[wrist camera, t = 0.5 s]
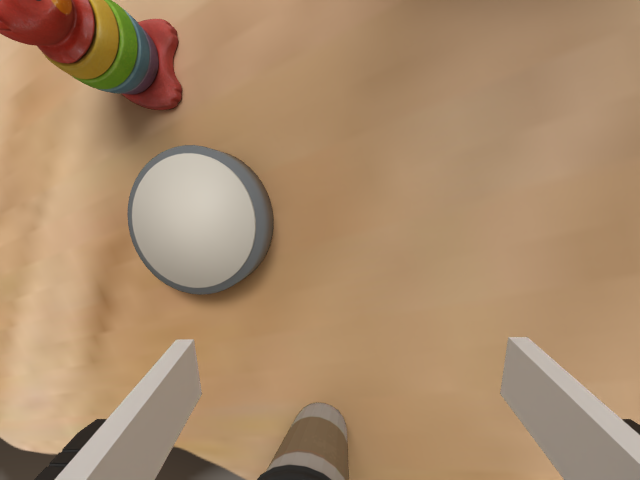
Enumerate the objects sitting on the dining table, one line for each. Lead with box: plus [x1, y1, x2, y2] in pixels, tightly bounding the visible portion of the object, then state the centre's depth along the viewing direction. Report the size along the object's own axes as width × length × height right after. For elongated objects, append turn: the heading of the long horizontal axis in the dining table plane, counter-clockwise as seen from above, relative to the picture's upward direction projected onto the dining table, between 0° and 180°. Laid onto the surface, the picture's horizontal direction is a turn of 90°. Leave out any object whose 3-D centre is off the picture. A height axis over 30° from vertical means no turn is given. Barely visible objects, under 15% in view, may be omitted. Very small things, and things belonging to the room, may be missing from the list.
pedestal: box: [128, 145, 273, 294], centre depth 40 cm, size 19×19×4 cm
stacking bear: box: [0, 0, 182, 110], centre depth 32 cm, size 11×10×18 cm
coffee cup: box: [257, 403, 349, 480], centre depth 36 cm, size 11×11×15 cm
